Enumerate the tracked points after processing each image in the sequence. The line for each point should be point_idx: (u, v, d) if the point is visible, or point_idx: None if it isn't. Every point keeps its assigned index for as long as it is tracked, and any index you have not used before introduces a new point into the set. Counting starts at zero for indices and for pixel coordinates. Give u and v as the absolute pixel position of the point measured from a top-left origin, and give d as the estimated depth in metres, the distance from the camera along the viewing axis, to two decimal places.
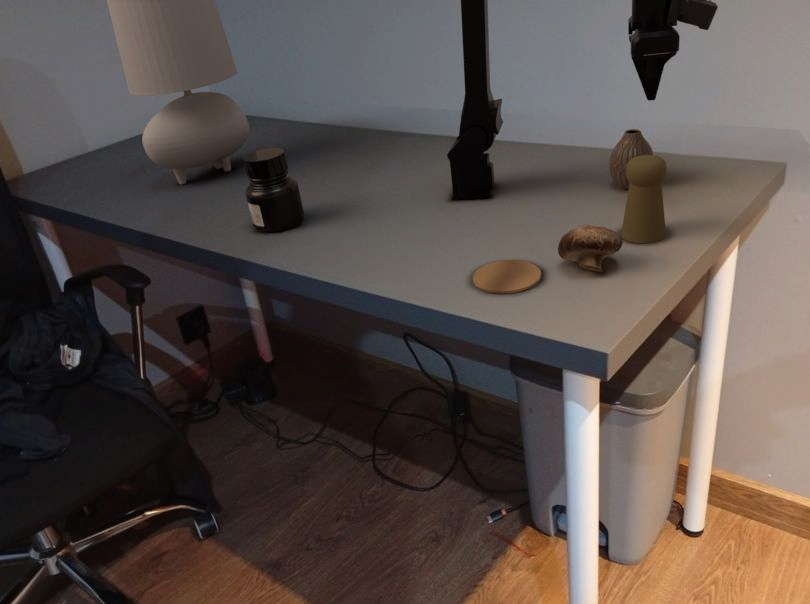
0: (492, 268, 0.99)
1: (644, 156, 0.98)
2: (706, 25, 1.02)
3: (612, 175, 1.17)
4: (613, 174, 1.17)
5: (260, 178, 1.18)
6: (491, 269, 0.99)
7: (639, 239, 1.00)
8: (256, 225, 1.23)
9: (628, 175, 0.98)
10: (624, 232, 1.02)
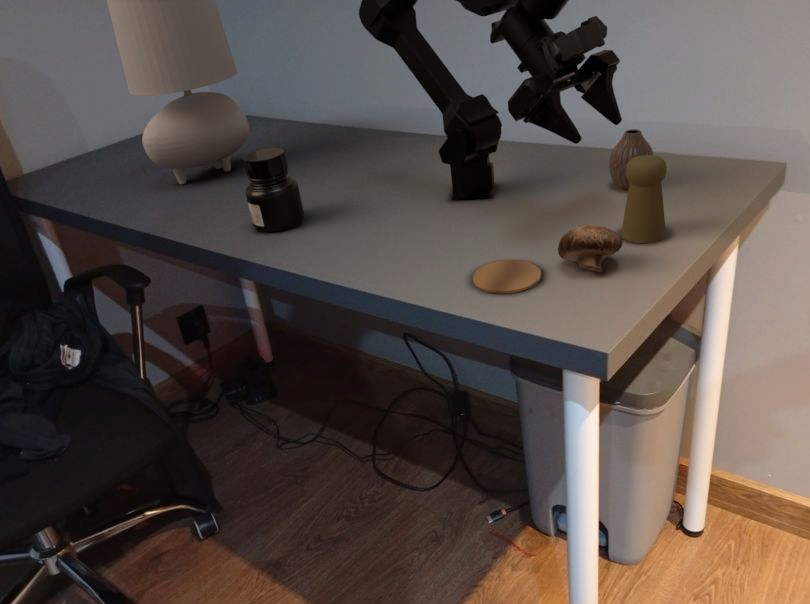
0: (492, 268, 0.99)
1: (644, 156, 0.98)
2: (581, 48, 0.95)
3: (612, 175, 1.17)
4: (613, 174, 1.17)
5: (260, 178, 1.18)
6: (491, 269, 0.99)
7: (639, 239, 1.00)
8: (256, 225, 1.23)
9: (628, 175, 0.98)
10: (623, 232, 1.02)
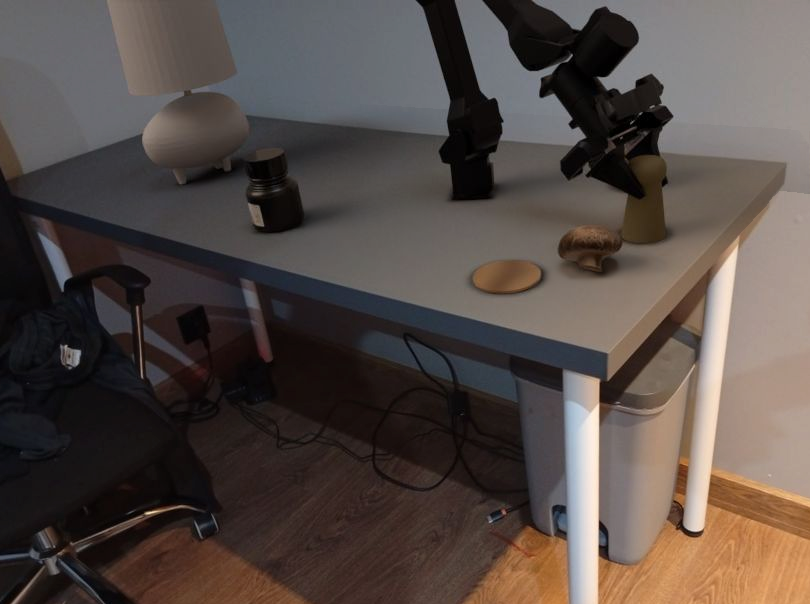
0: (492, 268, 0.99)
1: (644, 156, 0.98)
2: (638, 108, 0.92)
3: None
4: None
5: (260, 178, 1.18)
6: (491, 269, 0.99)
7: (639, 239, 1.00)
8: (256, 225, 1.23)
9: None
10: (624, 232, 1.02)
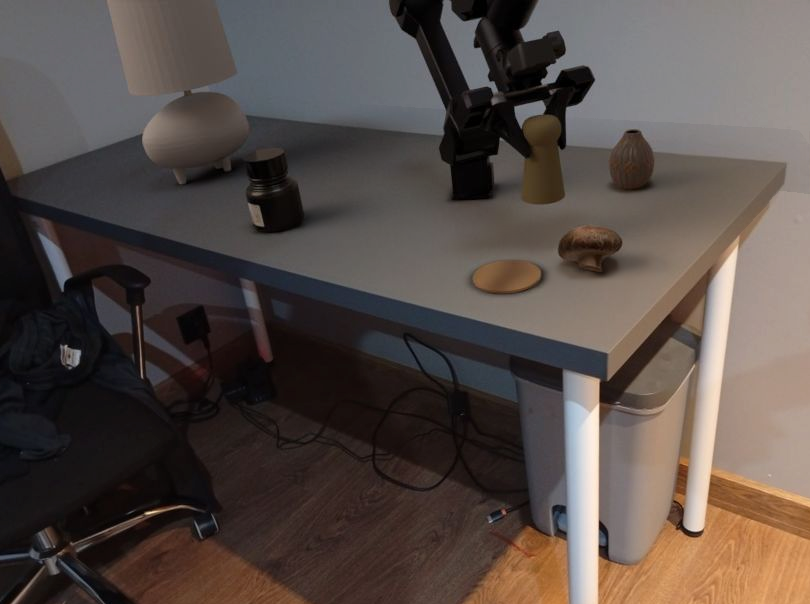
0: (492, 268, 0.99)
1: (540, 115, 0.97)
2: (522, 64, 0.92)
3: (612, 175, 1.17)
4: (613, 174, 1.17)
5: (260, 178, 1.18)
6: (491, 269, 0.99)
7: (529, 199, 1.00)
8: (256, 225, 1.23)
9: None
10: None
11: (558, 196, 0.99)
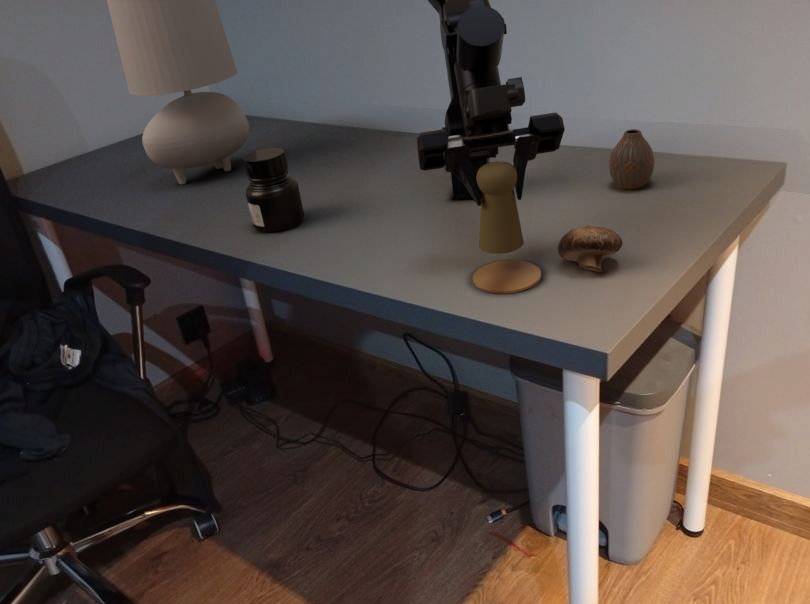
0: (492, 268, 0.99)
1: (497, 163, 0.93)
2: (473, 111, 0.89)
3: (612, 175, 1.17)
4: (613, 174, 1.17)
5: (260, 178, 1.18)
6: (491, 269, 0.99)
7: (482, 247, 0.97)
8: (256, 225, 1.23)
9: None
10: None
11: (511, 247, 0.96)
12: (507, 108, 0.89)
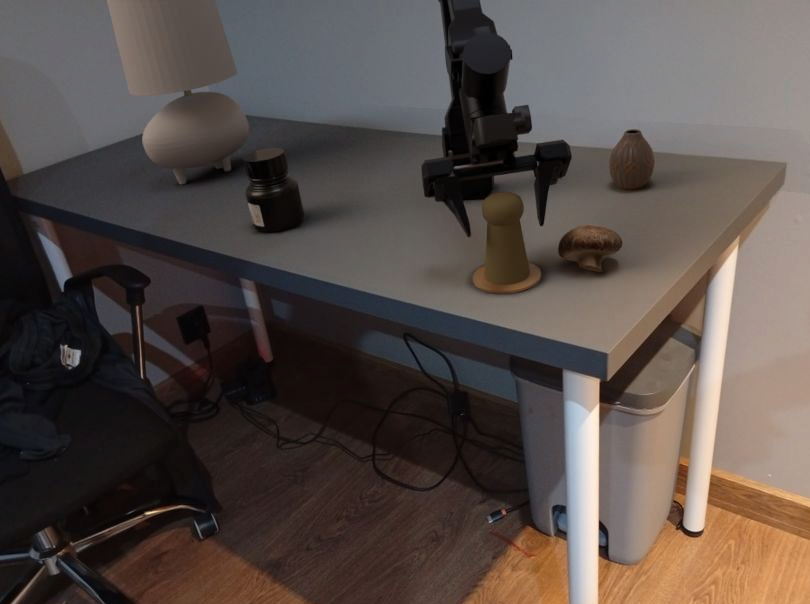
0: None
1: (503, 193, 0.92)
2: (479, 140, 0.87)
3: (612, 175, 1.17)
4: (613, 174, 1.17)
5: (260, 178, 1.18)
6: None
7: (487, 277, 0.96)
8: (256, 225, 1.23)
9: None
10: None
11: (517, 278, 0.94)
12: (513, 136, 0.87)
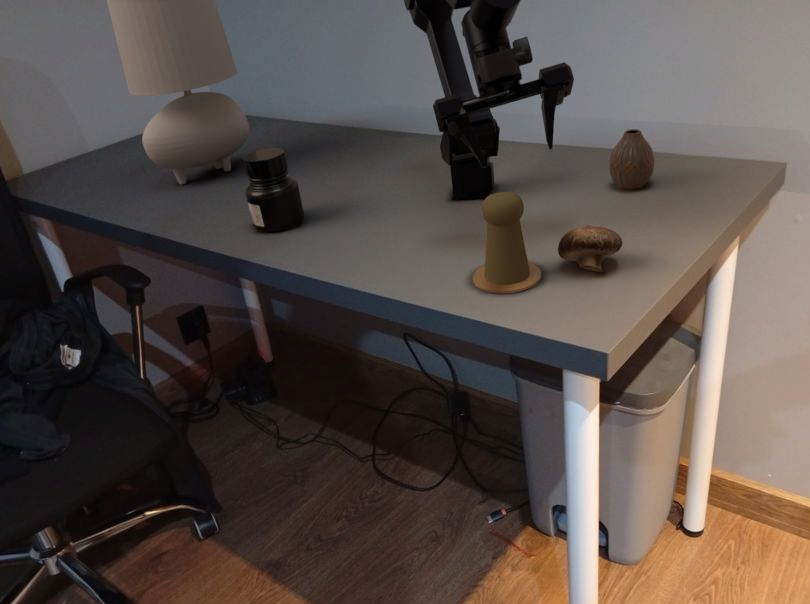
0: None
1: (503, 193, 0.92)
2: (483, 78, 0.93)
3: (612, 175, 1.17)
4: (613, 174, 1.17)
5: (260, 178, 1.18)
6: None
7: (487, 277, 0.96)
8: (256, 225, 1.23)
9: None
10: None
11: (517, 278, 0.94)
12: (516, 71, 0.92)
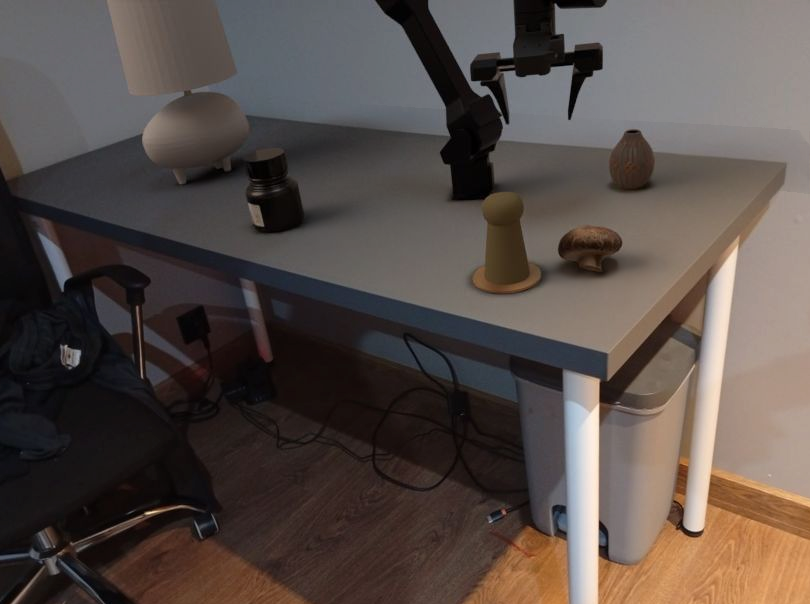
0: None
1: (503, 193, 0.92)
2: (515, 71, 1.01)
3: (612, 175, 1.17)
4: (613, 174, 1.17)
5: (260, 178, 1.18)
6: None
7: (487, 277, 0.96)
8: (256, 225, 1.23)
9: None
10: None
11: (517, 278, 0.94)
12: (545, 73, 1.00)
